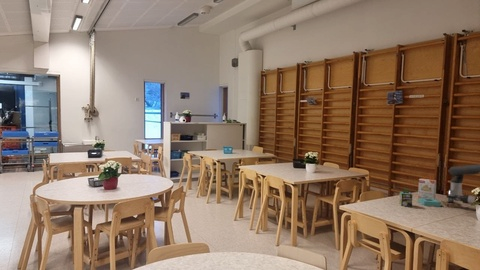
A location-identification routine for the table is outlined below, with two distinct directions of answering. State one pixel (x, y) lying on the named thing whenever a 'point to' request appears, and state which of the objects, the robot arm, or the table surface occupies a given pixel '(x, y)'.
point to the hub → (429, 202)
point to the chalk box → (405, 198)
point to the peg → (451, 193)
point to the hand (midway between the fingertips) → (447, 196)
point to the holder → (451, 204)
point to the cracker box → (427, 188)
